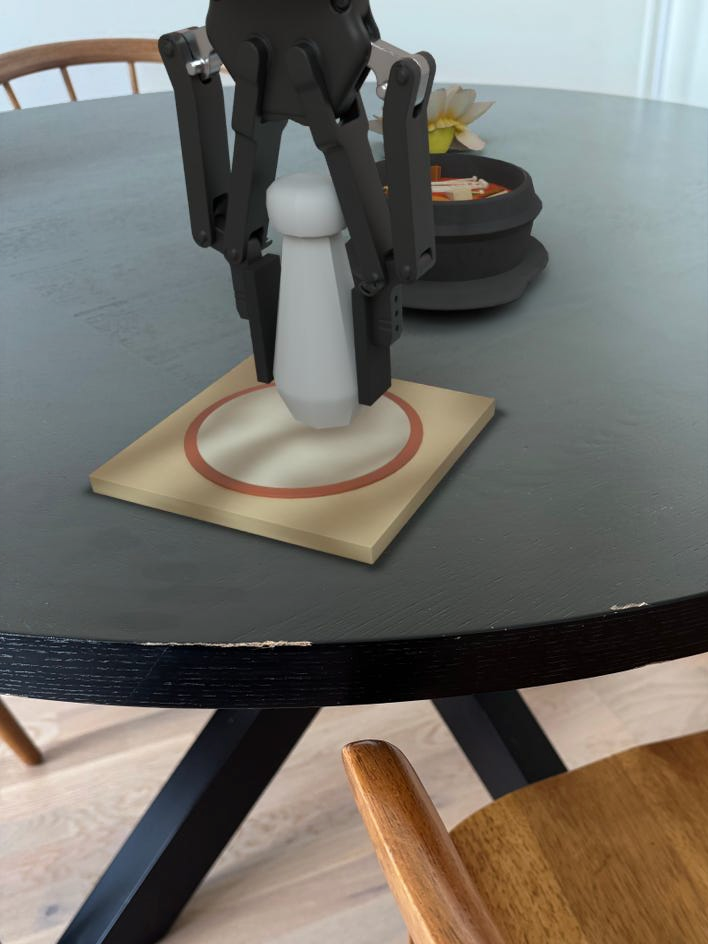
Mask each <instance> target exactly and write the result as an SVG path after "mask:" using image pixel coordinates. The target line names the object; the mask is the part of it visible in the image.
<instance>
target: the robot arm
mask: <svg viewBox="0 0 708 944" xmlns="http://www.w3.org/2000/svg"><path fill="white" fill-rule="evenodd" d="M370 2H371V1H370V0H209V2H208V8H207V13H206V16H205V22H204V24H205V25H202V26H197V25H196V26H193V25H192V26H188V27H186V28H181V29H178V30H175V31H171V32H166V33H163V34H161V35H160V36H159V37H158V40H157V49H158V52H159V56H160V58H161V60H162V63H163V66H164V68H165V70H166V74H167V76H168V79H169V81H170V84H171V87H172V90H173V93H174V95H173V96H174V102H175V110H176V118H177V127H178V135H179V142H180V150H181V159H182V165H183V174H184V181H185V182H184V183H185V190H186V200H187V205H188V206H187V207H188V214H189V222H190V231H191V236H192V239H193V241H194V243H195V244H196V245H197V246H198V247H200V248H202V249H207V248H209V247H210V248H212V249H213V250H215V251H217V252H219V253H220V254H222V255H223V257H224V259H225V260H226V262H227V263H228V264H229V268H230V274H231V280H232V282H231V283H232V288H233V294H234V301H235V307H236V312H237V313H238V315H239V318H240V319H242V320H246V321H248V325H249V332H250V339H251V346H252V354H254V360H255V368H256V375H257V382H262V383H266V384H269V383H271V382H272V381H273V380H274V376H273V367H274V354H275V341H276V329H277V316H278V303H279V290H280V278H281V265H282V261H281V255H280V254H276V253H270V252H267V253H266V254H264V255H263V252H262V251H264V250H266V249H267V248H268V247H270V246H271V245H272V244H273V242H274V241H273V239H270V240H269V237H268V231H269V226H270V225H269V224H270V220H269V217H268V212H267V207H266V191H267V189H268V188H269V186H270V185H271V184H272V183H273V182H274V181H275V180H276V179H277V178H276V176H277V170H278V162H279V156H280V149H281V144H282V143H281V142H282V136H283V132H284V130H285V128H286V127H287V125H288V123H289V120H290V121H292V122H294V123H297V124H299V125H301V126H303V127H308V128H309V131H310V134H311V137H312V140H313V143H314V145H315V147H316V149H317V150H319V151H320V152H321V153H322V154H323V156H324V160H325V162H326V165H327V168H328V172H329V175H331V178H332V181H333V184H334V187H335V191H336V194H337V197H338V200H339V203H340V206H341V209H342V213H343V216H344V219H345V222H346V225H347V228H346V229H347V231H348V234H349V237H350V238H351V241H352V244H353V247H354V250H355V253H356V256H357V260H358V263H359V266H360V269H361V272H362V275H363V278H364V280H363V281H360V282H359V283H357V284H356V285H354V286H355V287H354V288H352V289H351V297H352V312H353V327H354V342H355V356H356V371H357V386H358V400H359V404H362V405H366V406H372V405H373V404H374V403H375V402H376V401H377V400H378V399H379V398H380V397H381V396H382V395H383V394H384V393H385V392H386V391H387V390H388V389H389V388H390V387H391V386H392V385H391V378H392V363H391V346H393V344H395V343H396V342H397V341H398V340H399V339H400V338H401V337H402V333H403V330H404V322H403V307H402V283H404V284H411V283H413V282H414V281H416V280H417V279H418V278H419V277H420V276H422V275H423V274H424V273H425V272H426V271H428V270H429V269H430V268H431V267H432V266H434V264H435V261H436V251H435V235H434V218H433V202H432V185H431V169H430V152H429V136H428V119H427V107H428V103H429V98H430V94H431V91H432V90H433V86H434V81H435V77H436V73H437V63H436V60H435V57H434V56H433V55H432V53H430V52H428V51H426V50H421V51H417V52H415V53H410V52H408V51H406V50H404V49H402V48H400V47H398V46H396V45H393V44H392V43H390V42H387V41H385V40H384V39H382V36H381V32H380V28H379V26H378V24H377V22H376V19H375V17H374V15H373V14H374V13H373V12H372V7H371V3H370ZM222 66H224V68H225V69H226V71H227V72H228V74H229V76H230V77H231V79H232V81H233V82H234V91H233V92H234V95H233V101H232V102H233V103H232V111H231V120H230V121H231V122H230V126H231V130H232V131H233V132H234V143H233V152H232V161H231V157H230V148H229V137H228V127H227V126H228V125H227V117H226V116H227V115H226V106H225V105H226V104H225V95H224V88H223V87H224V86H223V83H222V78H221V74H220V72H221V67H222ZM371 71H372V72H373V75H374V77H375V79H376V87H375V94H376V96H377V98H378V99H380V100H382V101H383V105H382V106H383V111H382V115H381V116H382V129H383V135H382V141H383V151H384V160H385V164H386V175H387V186H388V198H389V208H388V205H387V202H386V198H385V195H384V191H383V188H382V184H381V181H380V178H379V174H378V171H377V167H376V164H375V162H376V161H375V157H374V155H373V150H372V148H371V144H370V141H369V135H368V134H369V131H370V130H369V123H368V121H369V119H368V114H367V112H366V108H365V105H364V102H363V98H362V95H361V92H360V91H361V88H362V87H363V85H364V84H365V81H366V80H367V78H368V76H369V75H370V72H371ZM338 119H339V121H338V122H337V120H338ZM389 209H390V212H389ZM350 238H349V239H350Z"/></svg>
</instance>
